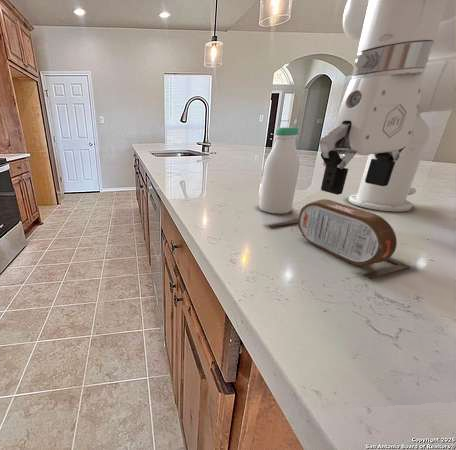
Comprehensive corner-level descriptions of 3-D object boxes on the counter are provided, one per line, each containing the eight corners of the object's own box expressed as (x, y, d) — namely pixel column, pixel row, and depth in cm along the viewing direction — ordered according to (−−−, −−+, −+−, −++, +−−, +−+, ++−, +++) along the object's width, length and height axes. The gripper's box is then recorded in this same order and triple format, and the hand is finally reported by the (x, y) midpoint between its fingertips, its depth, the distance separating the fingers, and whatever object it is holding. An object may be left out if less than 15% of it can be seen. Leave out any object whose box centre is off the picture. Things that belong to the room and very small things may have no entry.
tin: (387, 273, 36) (408, 221, 33) (372, 277, 36) (391, 224, 32) (304, 233, 50) (312, 193, 46) (291, 236, 49) (299, 195, 46)
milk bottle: (295, 215, 59) (312, 127, 52) (261, 213, 61) (273, 128, 53) (286, 205, 66) (300, 126, 59) (256, 204, 68) (266, 127, 60)
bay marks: (299, 220, 56) (299, 219, 56) (410, 267, 37) (411, 266, 37) (268, 226, 54) (268, 225, 54) (370, 279, 35) (370, 277, 35)
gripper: (370, 59, 28) (334, 202, 34) (467, 59, 32) (418, 186, 39) (313, 71, 34) (292, 189, 41) (400, 70, 38) (368, 177, 45)
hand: (353, 188), depth 40 cm, fingers open, 9 cm apart
